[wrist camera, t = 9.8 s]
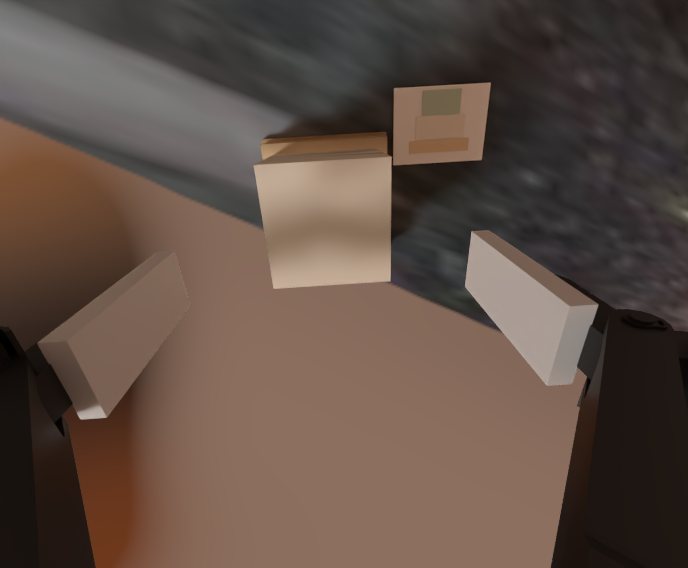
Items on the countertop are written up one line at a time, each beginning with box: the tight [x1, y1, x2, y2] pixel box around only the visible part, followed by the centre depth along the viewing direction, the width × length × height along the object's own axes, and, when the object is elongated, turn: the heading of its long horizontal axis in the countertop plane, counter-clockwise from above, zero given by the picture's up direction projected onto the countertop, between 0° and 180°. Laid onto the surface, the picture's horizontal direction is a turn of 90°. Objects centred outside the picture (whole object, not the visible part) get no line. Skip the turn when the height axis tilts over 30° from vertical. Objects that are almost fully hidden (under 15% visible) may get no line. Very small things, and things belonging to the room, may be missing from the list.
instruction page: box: [393, 83, 491, 165], centre depth 28 cm, size 6×8×1 cm
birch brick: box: [254, 148, 392, 289], centre depth 24 cm, size 8×8×8 cm
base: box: [260, 132, 387, 160], centre depth 29 cm, size 11×11×3 cm
